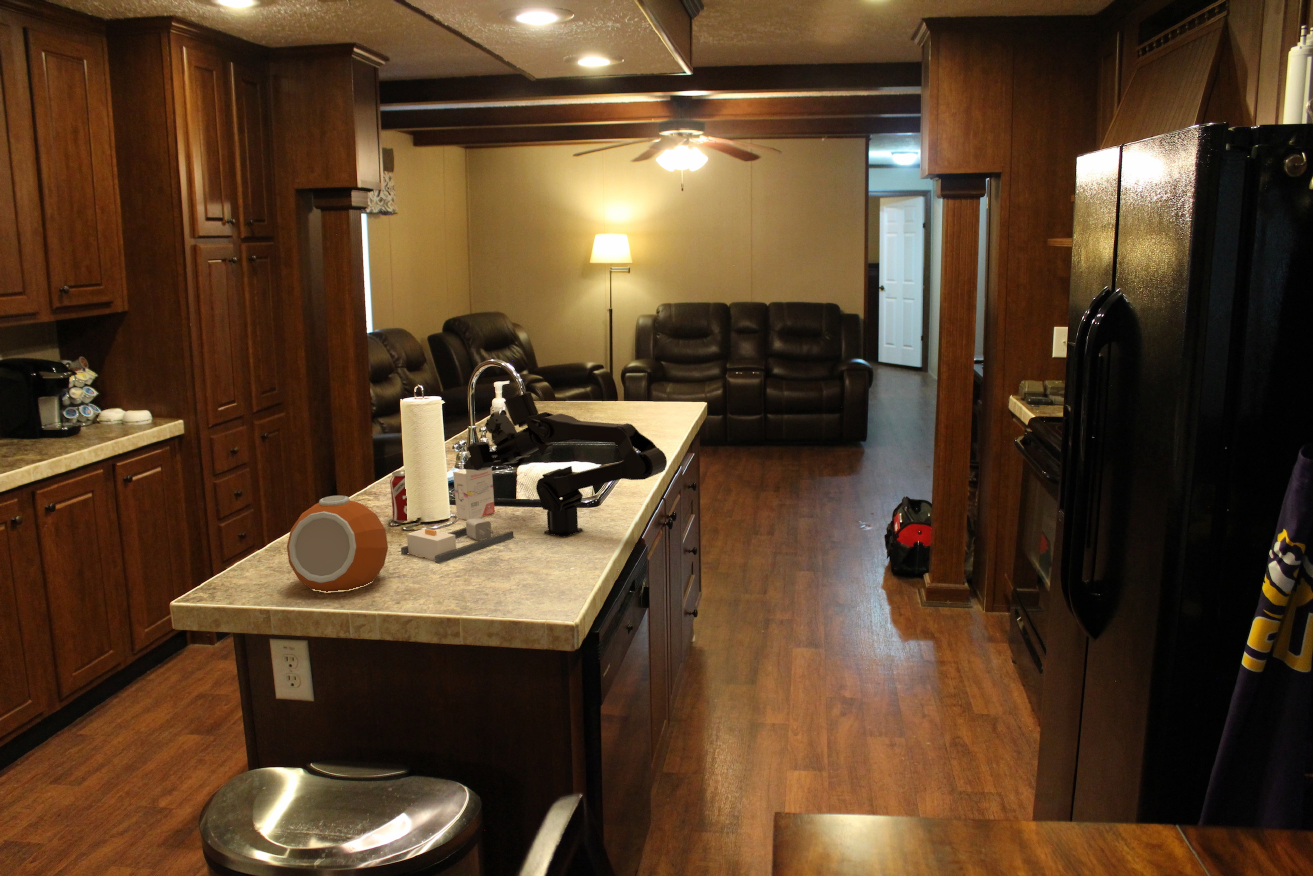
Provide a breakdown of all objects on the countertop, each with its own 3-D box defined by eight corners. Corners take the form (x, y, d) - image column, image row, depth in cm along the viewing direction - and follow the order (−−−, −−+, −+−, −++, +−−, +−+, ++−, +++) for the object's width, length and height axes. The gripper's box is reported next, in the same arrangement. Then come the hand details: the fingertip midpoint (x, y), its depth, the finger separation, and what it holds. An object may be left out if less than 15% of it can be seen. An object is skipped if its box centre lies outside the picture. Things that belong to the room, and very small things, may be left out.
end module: (456, 555, 220) (454, 530, 219) (438, 561, 216) (436, 536, 215) (426, 548, 226) (424, 524, 225) (408, 554, 222) (406, 529, 221)
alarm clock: (274, 597, 197) (264, 509, 194) (316, 568, 214) (308, 487, 211) (369, 599, 194) (361, 510, 191) (404, 570, 211) (397, 488, 208)
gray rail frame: (513, 537, 232) (513, 531, 232) (438, 563, 215) (438, 556, 215) (476, 530, 239) (476, 523, 239) (401, 554, 222) (400, 547, 222)
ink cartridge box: (481, 510, 257) (477, 452, 254) (495, 513, 254) (491, 454, 251) (455, 518, 250) (451, 459, 248) (469, 521, 247) (465, 461, 245)
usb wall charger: (482, 533, 237) (481, 516, 236) (497, 540, 231) (496, 522, 230) (466, 537, 234) (465, 520, 233) (481, 543, 229) (480, 526, 228)
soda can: (410, 515, 254) (406, 468, 252) (427, 519, 250) (424, 471, 248) (387, 521, 249) (383, 473, 247) (404, 525, 245) (400, 476, 243)
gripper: (539, 408, 245) (494, 431, 253) (485, 411, 230) (439, 435, 238) (553, 452, 243) (507, 474, 252) (500, 458, 228) (453, 481, 236)
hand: (477, 465), depth 245 cm, fingers open, 9 cm apart
